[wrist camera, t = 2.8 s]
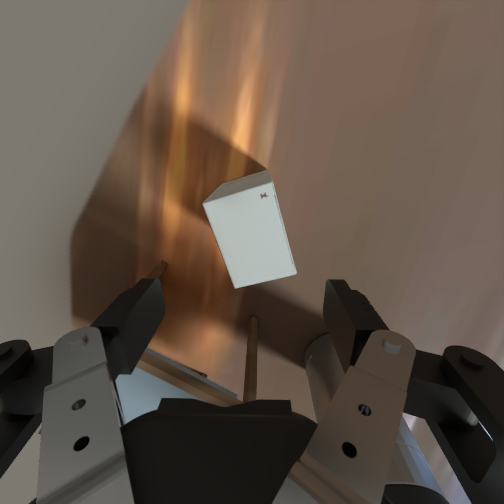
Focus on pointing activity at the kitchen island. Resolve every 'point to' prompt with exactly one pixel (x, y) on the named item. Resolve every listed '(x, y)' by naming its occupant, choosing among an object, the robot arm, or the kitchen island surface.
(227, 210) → the small box
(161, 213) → the kitchen island surface
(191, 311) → the kitchen island surface
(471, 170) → the kitchen island surface
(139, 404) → the trapdoor
